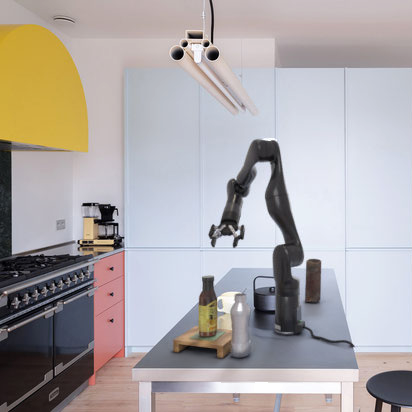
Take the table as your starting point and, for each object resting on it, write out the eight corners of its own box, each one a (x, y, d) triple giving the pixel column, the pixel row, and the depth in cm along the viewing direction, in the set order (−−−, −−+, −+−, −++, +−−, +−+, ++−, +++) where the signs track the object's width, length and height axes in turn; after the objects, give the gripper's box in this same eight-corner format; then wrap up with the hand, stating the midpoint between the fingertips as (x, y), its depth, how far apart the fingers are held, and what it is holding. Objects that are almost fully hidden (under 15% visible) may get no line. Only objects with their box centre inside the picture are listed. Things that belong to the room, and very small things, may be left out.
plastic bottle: (230, 352, 137) (230, 292, 136) (251, 351, 137) (251, 291, 136) (228, 360, 130) (228, 297, 129) (250, 359, 131) (250, 297, 130)
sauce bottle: (212, 338, 137) (212, 279, 136) (195, 337, 139) (194, 278, 138) (220, 331, 144) (220, 275, 143) (203, 330, 145) (203, 274, 144)
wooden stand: (241, 342, 145) (241, 330, 145) (222, 358, 132) (222, 345, 132) (195, 336, 150) (195, 325, 150) (173, 351, 137) (173, 339, 137)
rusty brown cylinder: (321, 300, 199) (322, 258, 198) (320, 304, 192) (320, 261, 191) (306, 299, 201) (306, 258, 200) (303, 303, 193) (304, 261, 192)
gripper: (213, 209, 174) (203, 240, 163) (246, 210, 172) (239, 241, 162) (217, 221, 179) (208, 251, 169) (249, 221, 178) (242, 252, 167)
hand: (223, 246), depth 165 cm, fingers open, 8 cm apart
